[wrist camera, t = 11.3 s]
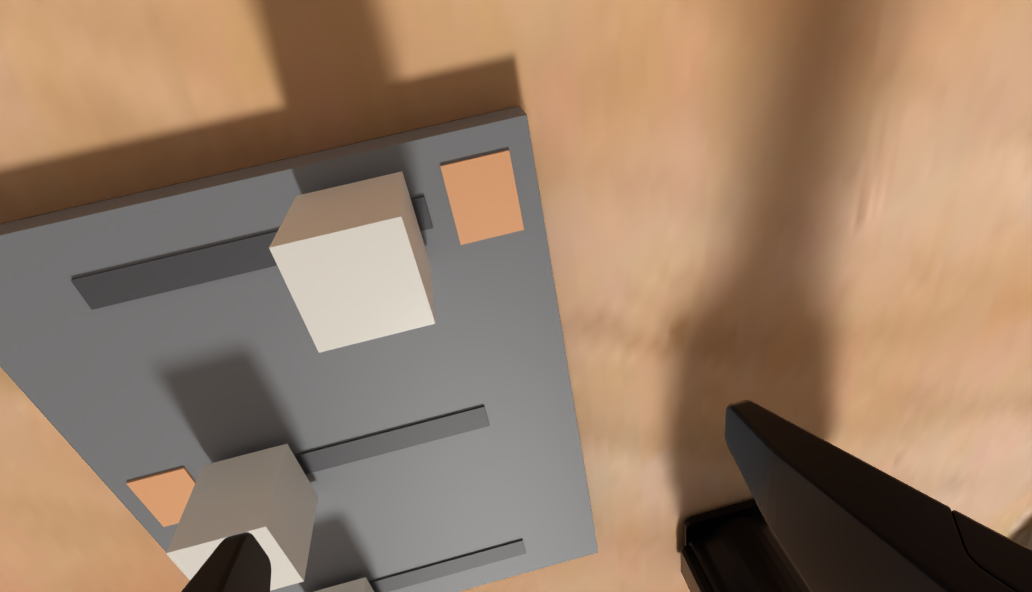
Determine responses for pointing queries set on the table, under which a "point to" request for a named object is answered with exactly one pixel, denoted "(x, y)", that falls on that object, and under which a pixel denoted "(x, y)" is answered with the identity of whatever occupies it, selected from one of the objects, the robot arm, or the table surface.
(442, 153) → the switch board
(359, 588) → the switch far
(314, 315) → the switch near
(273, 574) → the switch mid
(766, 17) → the table surface
